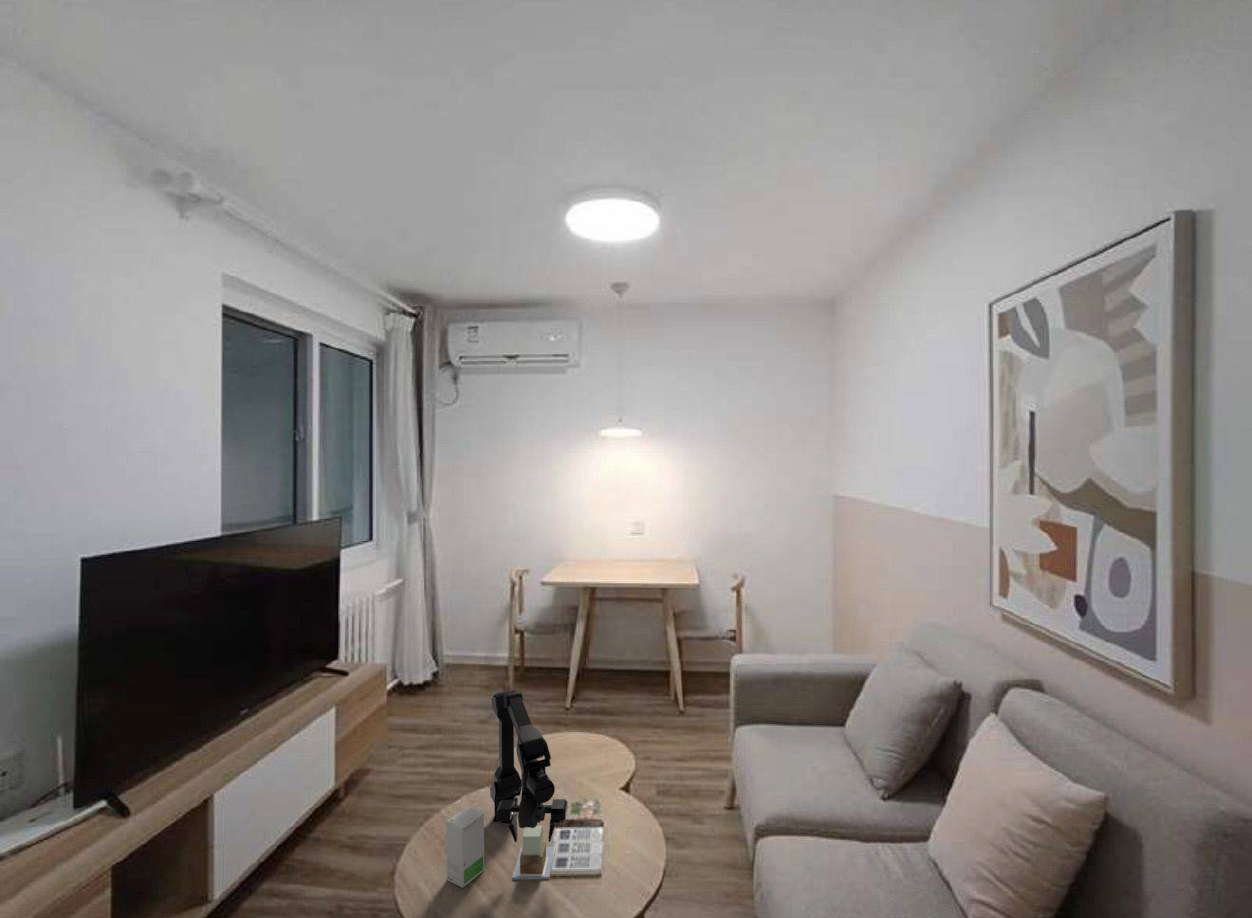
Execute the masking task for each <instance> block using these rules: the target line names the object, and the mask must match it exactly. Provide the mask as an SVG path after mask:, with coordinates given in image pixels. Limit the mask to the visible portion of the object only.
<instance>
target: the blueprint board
mask: <svg viewBox="0 0 1252 918" xmlns="http://www.w3.org/2000/svg"><path fill="white" fill-rule="evenodd" d="M553 847H554V846H546V861H545V865H544V869H543V874H520V855H521V852H522V849H523V846H520V848H519V852H518V856H517V858H516V859H517V860H516V862H515V866H514V870H513V873H512V876H511V880H515V881H516V880H550V877H551V875H552V869H553V868H552V867H553V864H552V863H554V859H553V850H554V848H553ZM551 868H552V869H551Z"/></svg>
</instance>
